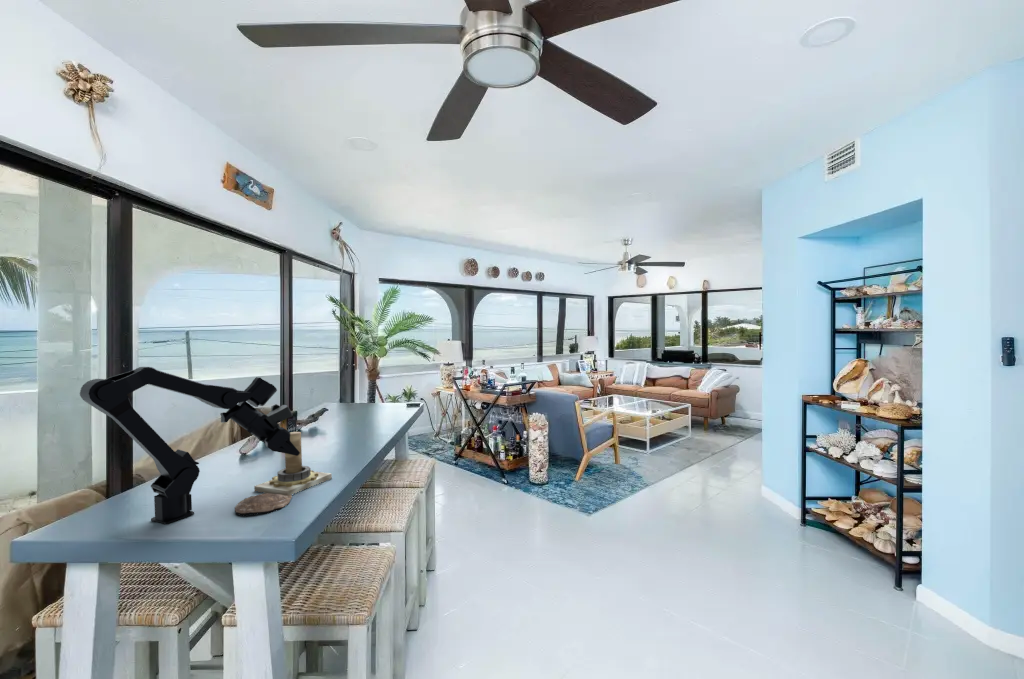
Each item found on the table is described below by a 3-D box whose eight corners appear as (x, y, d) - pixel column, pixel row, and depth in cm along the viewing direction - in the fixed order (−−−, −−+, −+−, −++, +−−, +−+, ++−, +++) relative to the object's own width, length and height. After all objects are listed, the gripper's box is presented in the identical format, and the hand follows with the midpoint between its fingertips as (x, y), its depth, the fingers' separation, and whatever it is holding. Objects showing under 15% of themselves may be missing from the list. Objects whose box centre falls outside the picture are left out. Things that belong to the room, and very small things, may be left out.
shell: (284, 514, 111) (283, 499, 111) (226, 521, 107) (226, 506, 107) (293, 497, 122) (293, 484, 122) (242, 503, 119) (241, 490, 119)
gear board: (287, 496, 122) (287, 481, 122) (254, 491, 127) (254, 476, 127) (331, 478, 137) (331, 464, 136) (300, 474, 142) (300, 460, 141)
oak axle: (293, 480, 129) (291, 435, 128) (282, 478, 130) (280, 434, 130) (305, 475, 133) (304, 432, 133) (294, 473, 134) (293, 431, 134)
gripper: (280, 400, 121) (323, 434, 128) (266, 394, 135) (305, 424, 142) (248, 433, 116) (294, 466, 123) (237, 423, 130) (279, 453, 137)
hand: (294, 451), depth 132 cm, fingers open, 9 cm apart
